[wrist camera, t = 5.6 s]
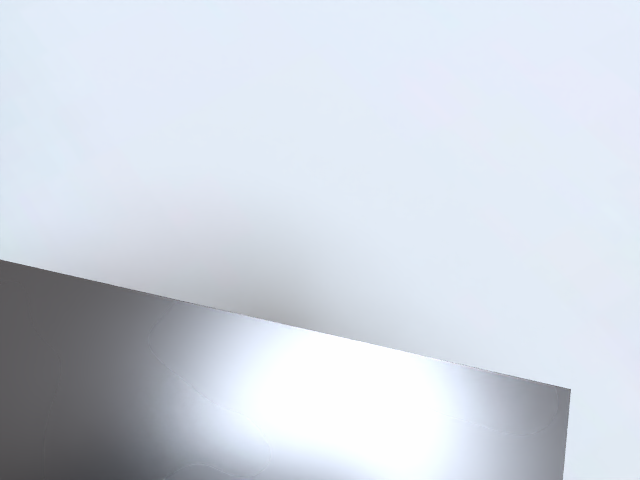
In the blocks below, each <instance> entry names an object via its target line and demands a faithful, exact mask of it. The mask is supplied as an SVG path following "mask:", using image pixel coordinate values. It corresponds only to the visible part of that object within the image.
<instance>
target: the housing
mask: <svg viewBox="0 0 640 480" xmlns="http://www.w3.org/2000/svg"><path fill="white" fill-rule="evenodd" d="M570 393H571V389H567V388H563V387H558V386H554V385H550V384H545V383H541V382H536V381H532V380H528V379H523V378H519V377H514V376H510V375H506V374H501V373H497V372H492V371H488V370H484V369H479V368H475V367H470V366H466V365H462V364H457V363H453V362H448V361H444V360H440V359H435V358H431V357H426V356H422V355H418V354H413V353H409V352H404V351H400V350H396V349H391V348H387V347H382V346H378V345H373V344H369V343H365V342H360V341H356V340H351V339H347V338H343V337H338V336H334V335H329V334H325V333H321V332H316V331H312V330H307V329H303V328H299V327H294V326H290V325H285V324H281V323H277V322H272V321H268V320H263V319H259V318H255V317H250V316H246V315H241V314H237V313H233V312H228V311H224V310H219V309H215V308H211V307H206V306H202V305H197V304H193V303H189V302H184V301H180V300H175V299H171V298H167V297H162V296H158V295H153V294H149V293H145V292H140V291H136V290H131V289H127V288H123V287H118V286H114V285H109V284H105V283H101V282H96V281H92V280H87V279H83V278H79V277H74V276H70V275H65V274H61V273H57V272H52V271H48V270H43V269H39V268H35V267H30V266H26V265H21V264H17V263H13V262H8V261H4V260H0V480H563V471H564V460H565V448H566V437H567V426H568V415H569V404H570Z"/></svg>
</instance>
